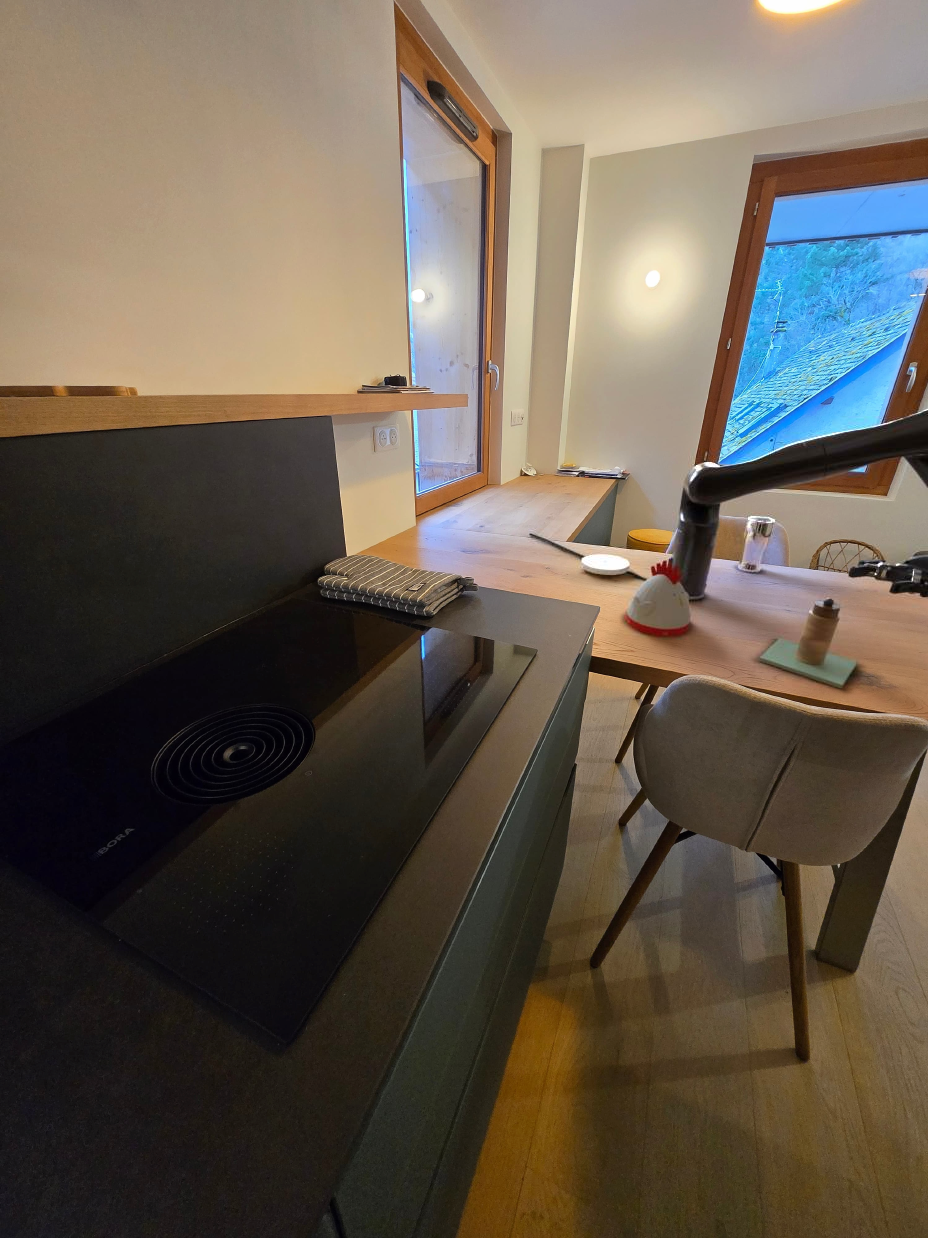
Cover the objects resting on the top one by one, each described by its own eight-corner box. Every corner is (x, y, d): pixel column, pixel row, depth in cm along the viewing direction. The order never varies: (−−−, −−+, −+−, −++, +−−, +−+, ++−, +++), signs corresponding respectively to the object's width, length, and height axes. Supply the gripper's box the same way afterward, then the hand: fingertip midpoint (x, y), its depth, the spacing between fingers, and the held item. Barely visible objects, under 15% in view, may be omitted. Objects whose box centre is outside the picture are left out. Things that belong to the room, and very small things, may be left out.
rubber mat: (758, 660, 100) (759, 657, 99) (778, 640, 107) (779, 637, 107) (841, 688, 90) (842, 685, 90) (856, 664, 98) (857, 661, 97)
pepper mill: (791, 659, 98) (811, 598, 93) (799, 650, 101) (818, 591, 96) (819, 668, 95) (842, 605, 89) (826, 659, 98) (848, 598, 92)
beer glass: (731, 565, 150) (742, 516, 143) (752, 564, 150) (765, 515, 144) (744, 573, 144) (757, 522, 137) (767, 572, 144) (781, 522, 138)
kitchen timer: (658, 640, 108) (669, 576, 101) (613, 616, 119) (621, 557, 112) (701, 627, 113) (715, 565, 107) (655, 605, 124) (665, 548, 118)
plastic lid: (579, 561, 155) (579, 553, 154) (624, 562, 153) (625, 555, 152) (582, 577, 142) (583, 568, 141) (632, 579, 141) (633, 570, 140)
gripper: (906, 544, 104) (844, 550, 101) (984, 567, 91) (916, 574, 88) (893, 577, 107) (832, 584, 104) (966, 604, 95) (900, 612, 91)
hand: (871, 580), depth 96 cm, fingers open, 8 cm apart
